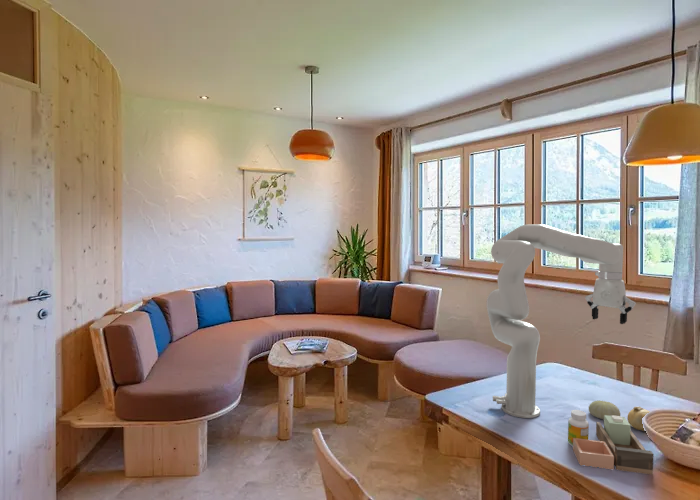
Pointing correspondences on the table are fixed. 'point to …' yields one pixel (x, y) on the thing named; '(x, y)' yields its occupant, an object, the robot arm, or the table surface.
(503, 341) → the robot arm
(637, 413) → the onion
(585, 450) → the holder
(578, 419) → the supplement bottle
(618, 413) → the sea urchin shell
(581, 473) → the table surface
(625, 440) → the block
